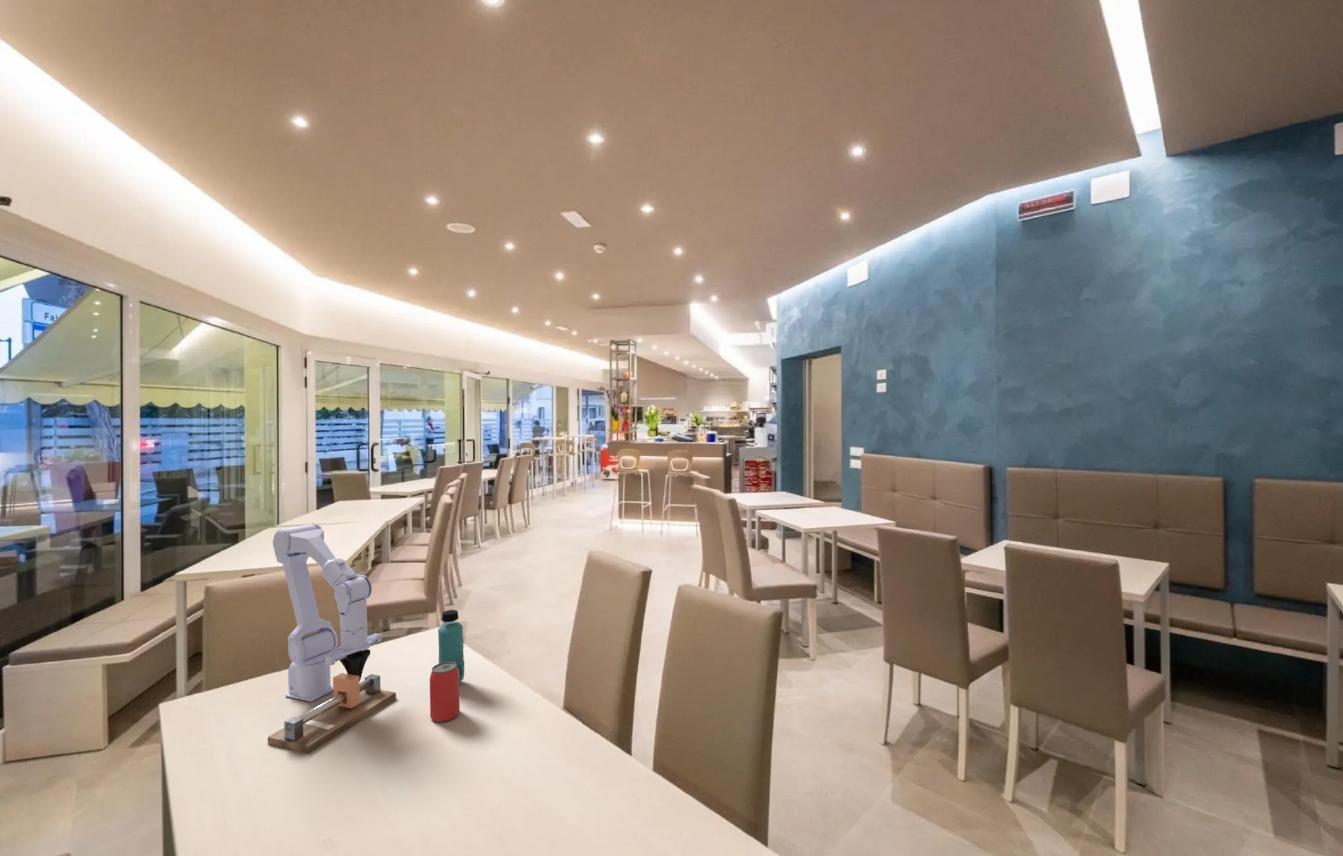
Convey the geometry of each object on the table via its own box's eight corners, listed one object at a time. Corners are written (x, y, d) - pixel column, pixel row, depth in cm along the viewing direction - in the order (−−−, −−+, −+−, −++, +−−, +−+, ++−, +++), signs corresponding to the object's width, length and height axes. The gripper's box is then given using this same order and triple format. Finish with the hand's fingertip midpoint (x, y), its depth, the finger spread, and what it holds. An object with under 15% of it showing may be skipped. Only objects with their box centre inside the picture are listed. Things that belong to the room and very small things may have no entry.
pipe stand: (284, 739, 120) (284, 721, 120) (371, 689, 142) (371, 674, 142) (294, 741, 119) (294, 723, 119) (380, 690, 141) (380, 675, 141)
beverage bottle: (455, 692, 143) (454, 616, 143) (433, 689, 144) (431, 615, 144) (469, 680, 149) (468, 608, 149) (448, 678, 151) (446, 606, 150)
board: (267, 743, 121) (267, 736, 121) (359, 691, 144) (359, 685, 144) (307, 753, 117) (307, 746, 117) (395, 698, 140) (395, 692, 140)
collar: (333, 704, 133) (333, 677, 133) (342, 699, 135) (341, 673, 135) (351, 708, 131) (350, 680, 131) (359, 703, 134) (359, 676, 133)
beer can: (464, 709, 135) (463, 661, 134) (451, 724, 128) (450, 673, 128) (439, 708, 135) (438, 660, 135) (424, 722, 129) (423, 672, 129)
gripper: (340, 640, 127) (341, 698, 128) (390, 618, 141) (391, 670, 141) (317, 637, 129) (319, 693, 130) (368, 615, 143) (369, 666, 143)
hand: (355, 681), depth 136 cm, fingers closed
